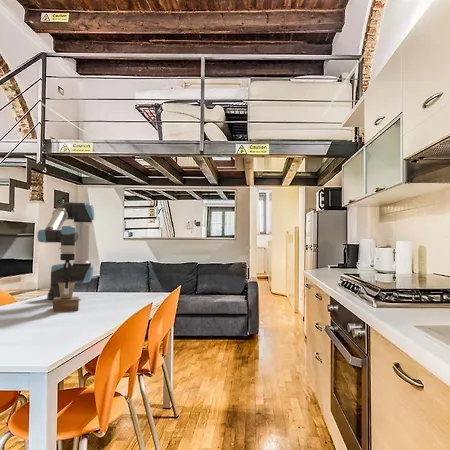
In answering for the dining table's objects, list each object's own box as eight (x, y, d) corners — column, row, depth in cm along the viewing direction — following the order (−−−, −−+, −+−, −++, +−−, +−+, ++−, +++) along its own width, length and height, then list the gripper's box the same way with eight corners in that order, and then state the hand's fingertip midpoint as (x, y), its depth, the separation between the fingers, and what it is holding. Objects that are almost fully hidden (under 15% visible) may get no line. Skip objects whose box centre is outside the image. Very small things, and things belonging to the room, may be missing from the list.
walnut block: (53, 308, 227) (54, 297, 228) (78, 307, 232) (78, 296, 232) (52, 311, 215) (53, 300, 216) (78, 310, 220) (78, 299, 220)
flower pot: (78, 297, 228) (78, 281, 229) (70, 299, 219) (70, 283, 219) (62, 296, 229) (63, 281, 230) (53, 298, 220) (54, 283, 220)
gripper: (61, 252, 234) (59, 291, 233) (59, 253, 214) (58, 295, 212) (74, 252, 237) (73, 290, 236) (74, 253, 216) (73, 295, 215)
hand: (66, 293), depth 224 cm, fingers closed on flower pot, 9 cm apart
